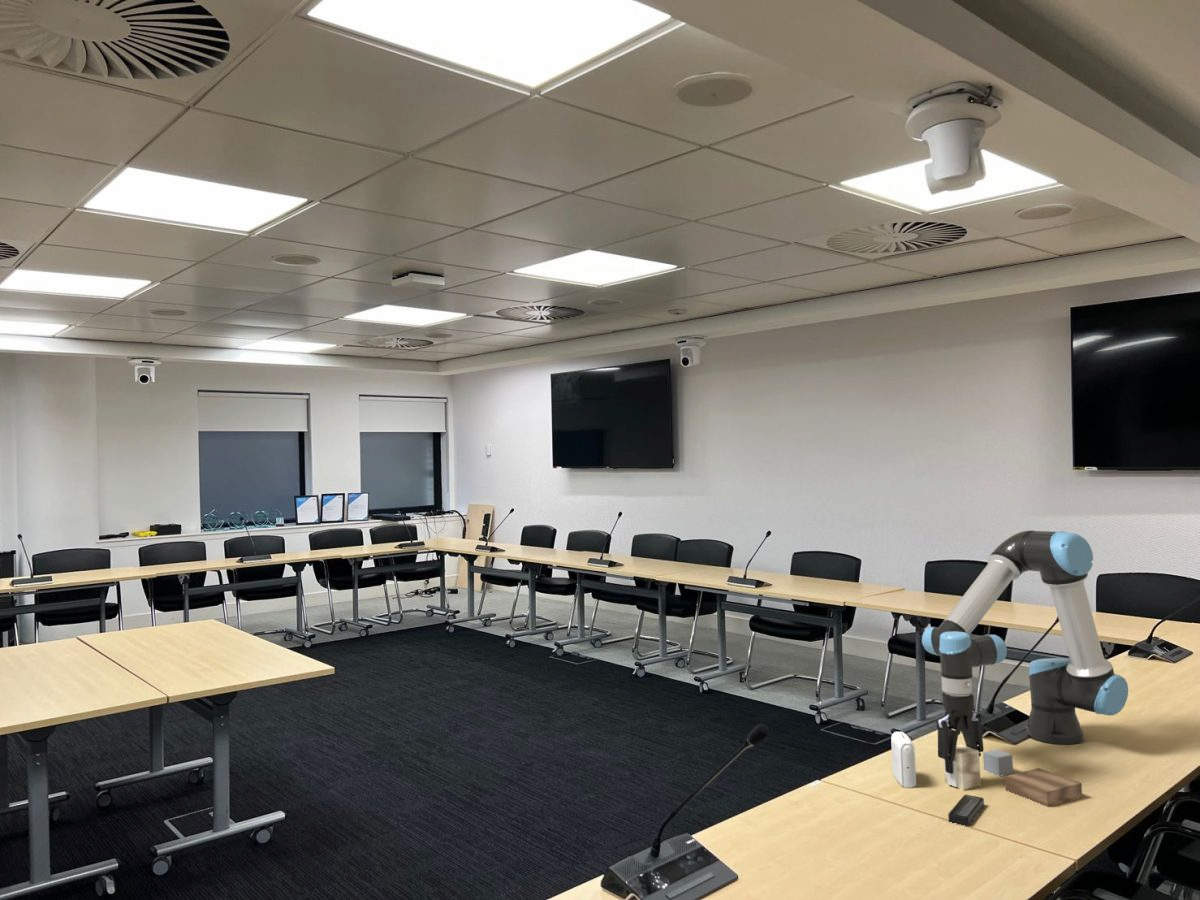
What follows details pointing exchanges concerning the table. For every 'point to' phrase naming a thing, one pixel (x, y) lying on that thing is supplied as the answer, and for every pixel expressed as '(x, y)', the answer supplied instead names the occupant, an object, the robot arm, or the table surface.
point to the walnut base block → (1043, 787)
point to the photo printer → (903, 759)
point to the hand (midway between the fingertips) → (962, 782)
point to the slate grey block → (998, 762)
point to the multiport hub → (966, 810)
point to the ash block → (966, 767)
